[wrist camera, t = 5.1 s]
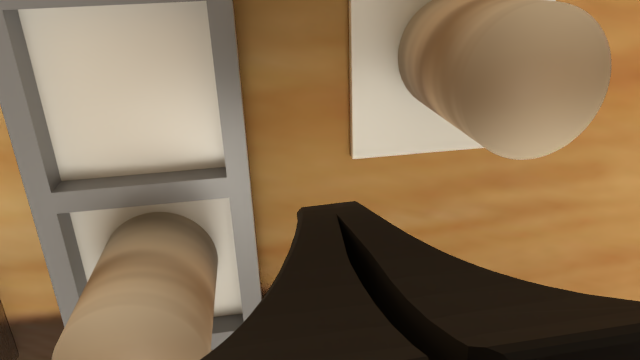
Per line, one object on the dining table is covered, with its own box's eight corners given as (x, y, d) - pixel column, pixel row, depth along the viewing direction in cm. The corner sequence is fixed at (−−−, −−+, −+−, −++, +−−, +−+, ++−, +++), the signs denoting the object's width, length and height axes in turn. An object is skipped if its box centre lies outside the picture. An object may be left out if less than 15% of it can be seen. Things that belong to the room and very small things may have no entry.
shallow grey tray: (263, 310, 23) (265, 342, 21) (90, 331, 22) (76, 367, 20) (230, -28, 18) (229, -28, 16) (-2, -19, 17) (-35, -18, 15)
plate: (531, 140, 22) (536, 143, 21) (350, 155, 21) (352, 159, 20) (558, -64, 19) (564, -65, 18) (347, -57, 18) (350, -58, 17)
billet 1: (223, 300, 21) (217, 414, 16) (115, 312, 21) (70, 434, 15) (211, 206, 20) (199, 297, 14) (93, 217, 19) (33, 316, 14)
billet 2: (500, 105, 21) (596, 153, 15) (396, 112, 20) (456, 165, 15) (512, -10, 19) (625, -3, 13) (399, -5, 18) (467, 5, 13)
